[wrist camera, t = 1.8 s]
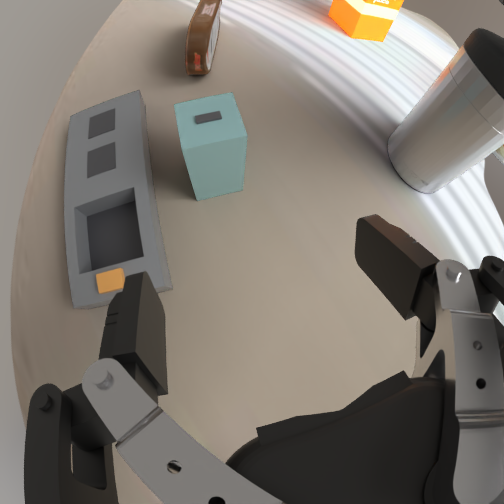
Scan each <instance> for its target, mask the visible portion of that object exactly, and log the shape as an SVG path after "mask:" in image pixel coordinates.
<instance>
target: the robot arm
mask: <svg viewBox="0 0 504 504" xmlns="http://www.w3.org/2000/svg"><path fill="white" fill-rule="evenodd" d="M499 1H500V2H501V3H502V4H503V5H504V0H499ZM503 144H504V38H502V37H500V36H498V35H496V34H494V33H493V32H490V31H488V30H485V29H480V28H478V29H476V30H474V31H473V32H472V33H471V34H470V36H469V37H468V38H467V40H466V41H465V43H464V44H463V45H462V47H461V48H460V49H459V51H458V52H457V53H456V54H455V56H454V57H453V58H452V60H451V61H450V62H449V64H448V65H447V67H446V68H445V69H444V70H443V72H442V73H441V74H440V75H439V77H438V78H437V79H436V81H435V82H434V83H433V84H432V86H431V87H430V88H429V89H428V91H427V92H426V93H425V94H424V96H423V97H422V98H421V99H420V101H419V102H418V103H417V104H416V106H415V107H414V108H413V109H412V111H411V112H410V113H409V114H408V115H407V117H406V118H405V119H404V120H403V121H402V123H401V124H400V125H399V126H398V127H397V129H396V130H395V131H394V132H393V133H392V135H391V136H390V138H389V140H388V153H389V157H390V160H391V162H392V164H393V166H394V168H395V170H396V171H397V172H398V174H399V175H400V177H401V178H402V179H403V180H404V181H405V182H406V183H407V184H409V185H410V186H411V187H413V188H414V189H416V190H418V191H420V192H423V193H434V192H436V191H438V190H439V189H441V188H442V187H444V186H445V185H447V184H448V183H450V182H451V181H453V180H454V179H456V178H457V177H459V176H460V175H462V174H463V173H465V172H466V171H467V170H469V169H470V168H472V167H473V166H474V165H476V164H477V163H479V162H480V161H481V160H483V159H484V158H486V157H487V156H488V155H490V154H491V153H492V152H494V151H495V150H497V149H498V148H499V147H501V146H502V145H503ZM355 258H356V261H357V264H358V265H359V267H360V268H361V269H362V270H363V271H364V272H365V274H366V275H367V276H368V277H369V278H370V279H371V280H372V282H373V283H374V284H375V285H376V286H377V287H378V288H379V290H380V291H381V292H382V293H383V294H384V295H385V297H386V298H387V299H388V300H389V301H390V303H391V304H392V305H393V306H394V307H395V309H396V310H397V311H398V312H399V313H400V315H401V316H402V317H403V318H404V319H405V320H407V319H409V318H412V317H414V316H417V317H418V321H417V325H416V360H415V368H414V372H413V375H412V378H409V377H408V376H407V374H406V373H405V371H404V370H403V371H401V372H400V373H398V374H396V375H394V376H392V377H390V378H388V379H386V380H384V381H382V382H380V383H378V384H376V385H374V386H372V387H371V388H370V389H368V390H367V391H366V392H365V393H363V394H362V395H361V396H360V397H358V398H357V399H356V400H354V401H353V402H352V403H351V404H349V405H348V406H347V407H345V408H344V409H342V410H339V411H335V412H328V413H320V414H312V415H303V416H296V417H292V418H289V419H286V420H283V421H279V422H276V423H272V424H269V425H265V426H262V427H258V428H256V430H257V433H258V437H256V438H255V439H253V440H251V441H249V442H248V443H246V444H245V445H243V446H242V447H241V448H239V449H238V450H237V451H236V452H235V453H234V454H233V455H232V456H231V457H230V458H229V459H228V460H227V462H226V463H223V462H222V461H221V460H219V459H218V458H217V457H216V456H214V455H213V454H212V453H211V452H209V451H208V450H207V449H206V448H204V447H203V446H202V445H201V444H200V443H198V442H197V441H196V440H195V439H194V438H193V437H191V436H190V435H189V434H188V433H187V432H186V431H185V430H184V429H182V428H181V427H180V426H179V425H178V424H177V423H176V422H175V421H174V420H173V419H172V418H171V417H170V416H168V415H167V414H166V413H165V412H164V411H163V410H162V409H161V408H160V407H159V406H158V396H160V395H166V394H168V386H167V367H166V337H165V313H164V309H163V306H162V303H161V301H160V299H159V297H158V294H157V292H156V290H155V288H154V286H153V283H152V281H151V279H150V277H149V275H148V273H147V272H146V271H144V272H140V273H136V274H132V275H128V276H126V277H125V281H124V286H123V291H122V292H118V293H116V295H115V296H114V298H113V299H112V301H111V302H110V304H109V308H108V312H107V317H106V322H105V327H104V332H103V337H102V343H101V348H100V354H99V360H98V361H96V362H94V363H93V364H92V365H90V366H89V368H88V369H87V370H86V372H85V373H84V376H83V379H82V383H81V384H79V385H77V386H74V387H72V388H70V389H68V390H65V391H63V392H62V391H61V390H60V389H59V388H58V387H57V386H55V385H54V384H44V385H42V386H40V387H39V388H38V389H37V390H36V391H35V392H34V394H33V396H32V398H31V401H30V406H29V413H28V420H27V429H26V441H25V455H24V493H25V504H119V503H118V497H117V490H116V483H115V475H114V466H113V455H112V443H113V442H116V441H117V444H116V445H115V446H116V449H117V451H118V452H119V454H120V455H121V456H122V458H123V459H124V460H125V461H126V463H127V464H128V465H129V466H130V467H131V469H132V470H133V471H134V472H135V473H136V475H137V476H138V477H139V478H140V479H141V480H142V481H143V482H144V483H145V485H146V486H147V487H148V488H149V489H150V490H151V491H152V492H153V493H154V494H155V495H156V496H157V497H158V498H159V499H160V500H161V501H162V502H163V503H164V504H504V326H503V325H502V324H501V323H500V321H499V320H498V319H497V318H496V317H495V315H494V314H493V312H494V310H495V308H496V306H497V304H498V302H499V301H500V302H501V303H502V304H503V305H504V261H503V260H501V259H500V258H497V257H495V256H486V257H484V258H483V260H482V263H481V266H480V268H479V269H472V270H468V269H467V268H466V267H465V266H464V265H463V264H461V263H460V262H457V261H454V260H449V259H447V260H442V261H440V260H439V259H437V258H436V257H435V256H434V255H433V254H432V253H430V252H429V251H428V250H427V249H426V248H424V247H423V246H422V245H421V244H420V243H418V242H416V240H415V239H413V238H412V237H410V236H409V235H408V234H407V233H406V232H405V231H403V230H402V229H401V228H399V227H396V226H394V225H392V224H389V223H388V222H387V221H385V220H384V219H383V218H381V217H380V216H379V215H376V214H375V215H370V216H366V217H362V218H359V219H358V221H357V227H356V242H355ZM71 444H72V459H73V473H72V470H71Z"/></svg>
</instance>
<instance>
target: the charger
mask: <svg viewBox="0 0 504 504" xmlns="http://www.w3.org/2000/svg"><path fill="white" fill-rule="evenodd" d="M174 108H175V114H176V120H177V126H178V132H179V137H180V143H181V148H182V152H183V156H184V159H185V162H186V166H187V169H188V173H189V176H190V179H191V183H192V186H193V189H194V192H195V196H196V199H197V201H200V200H204V199H208V198H212V197H216V196H220V195H224V194H229V193H233V192H237V191H242V190H243V182H244V170H245V159H246V147H247V133H246V130H245V127H244V124H243V121H242V118H241V115H240V113H239V110H238V107H237V104H236V101H235V98H234V96H233V93H232V92H231V93H225V94H220V95H214V96H209V97H204V98H199V99H195V100H190V101H186V102H182V103H178V104H174Z"/></svg>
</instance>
